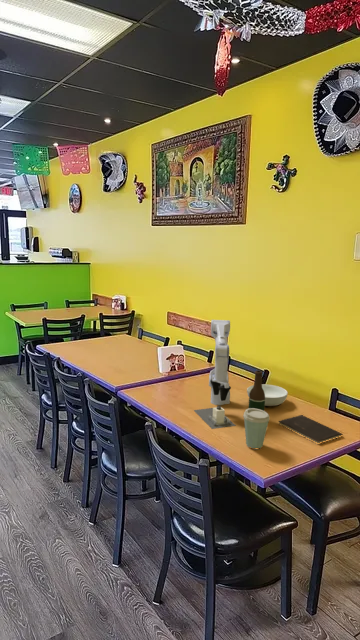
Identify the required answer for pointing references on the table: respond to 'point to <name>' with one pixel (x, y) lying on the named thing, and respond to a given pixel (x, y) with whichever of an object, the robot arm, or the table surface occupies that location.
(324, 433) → the hardcover book
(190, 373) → the table surface
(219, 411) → the cream square bottle
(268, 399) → the serving bowl
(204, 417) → the mat
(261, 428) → the disposable coffee cup
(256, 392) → the beer bottle
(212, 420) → the end holder
